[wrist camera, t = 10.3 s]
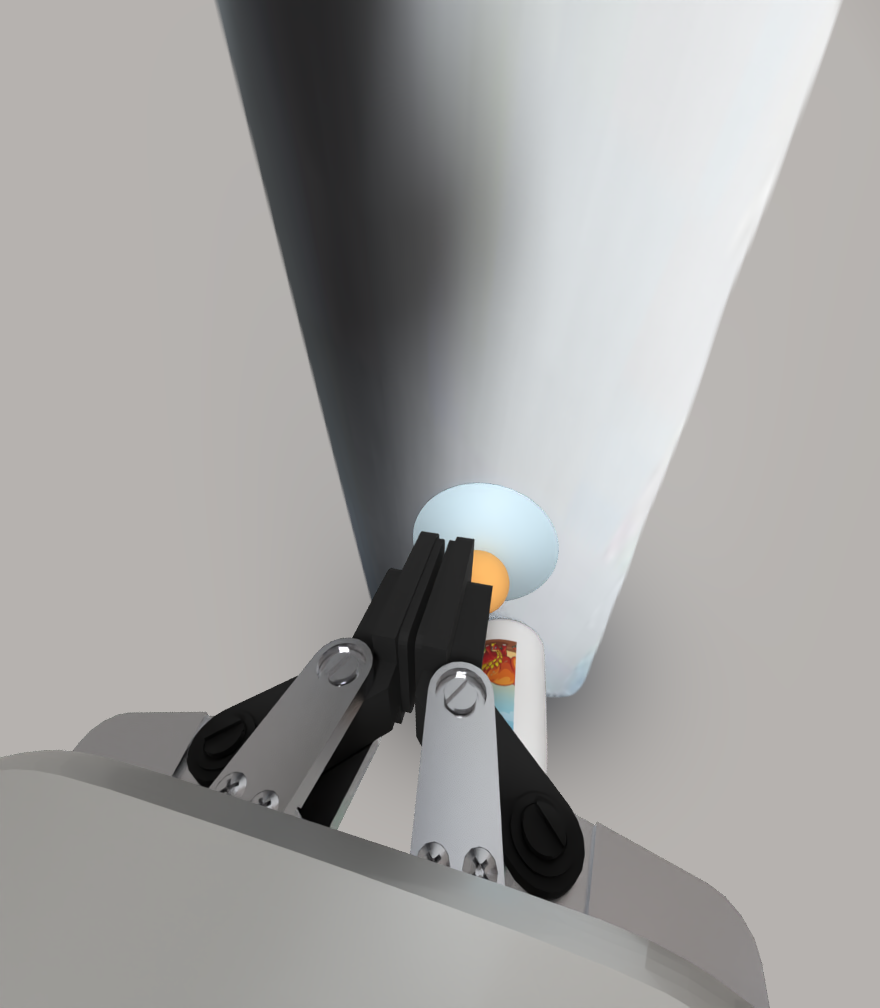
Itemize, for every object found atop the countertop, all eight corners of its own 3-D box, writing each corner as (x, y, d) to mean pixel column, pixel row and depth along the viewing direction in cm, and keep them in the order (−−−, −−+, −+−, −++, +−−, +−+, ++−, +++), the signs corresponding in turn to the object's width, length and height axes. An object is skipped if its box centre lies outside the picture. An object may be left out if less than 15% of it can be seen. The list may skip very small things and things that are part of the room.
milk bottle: (548, 622, 34) (562, 931, 18) (540, 671, 38) (545, 962, 22) (470, 610, 36) (416, 884, 19) (470, 658, 40) (424, 920, 23)
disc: (411, 474, 29) (411, 475, 29) (573, 493, 27) (573, 494, 27) (415, 587, 36) (414, 589, 36) (544, 611, 34) (544, 612, 34)
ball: (454, 539, 33) (442, 555, 28) (513, 547, 32) (513, 566, 27) (448, 594, 34) (436, 620, 28) (506, 604, 33) (504, 633, 27)
